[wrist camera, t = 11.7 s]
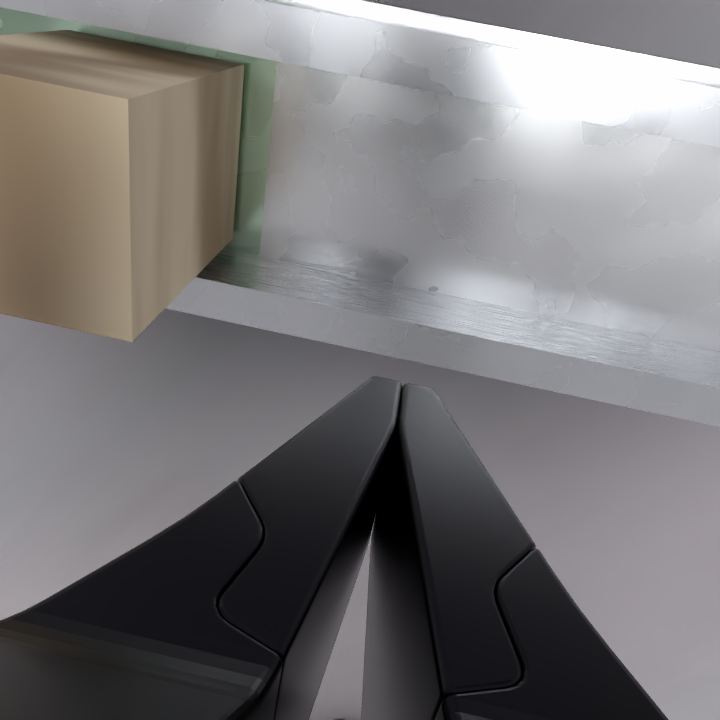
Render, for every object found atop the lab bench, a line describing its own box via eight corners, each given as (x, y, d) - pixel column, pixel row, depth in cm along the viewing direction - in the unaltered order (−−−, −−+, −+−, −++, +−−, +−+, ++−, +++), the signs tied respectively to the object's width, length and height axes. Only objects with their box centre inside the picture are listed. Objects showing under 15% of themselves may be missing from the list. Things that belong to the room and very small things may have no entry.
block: (244, 64, 18) (127, 99, 12) (232, 238, 20) (132, 341, 14) (67, 29, 18) (-137, 46, 12) (78, 205, 20) (-86, 294, 14)
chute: (920, 106, 16) (1040, 135, 13) (754, 398, 21) (811, 477, 18) (-61, -80, 18) (-190, -99, 14) (-18, 234, 22) (-108, 278, 19)
